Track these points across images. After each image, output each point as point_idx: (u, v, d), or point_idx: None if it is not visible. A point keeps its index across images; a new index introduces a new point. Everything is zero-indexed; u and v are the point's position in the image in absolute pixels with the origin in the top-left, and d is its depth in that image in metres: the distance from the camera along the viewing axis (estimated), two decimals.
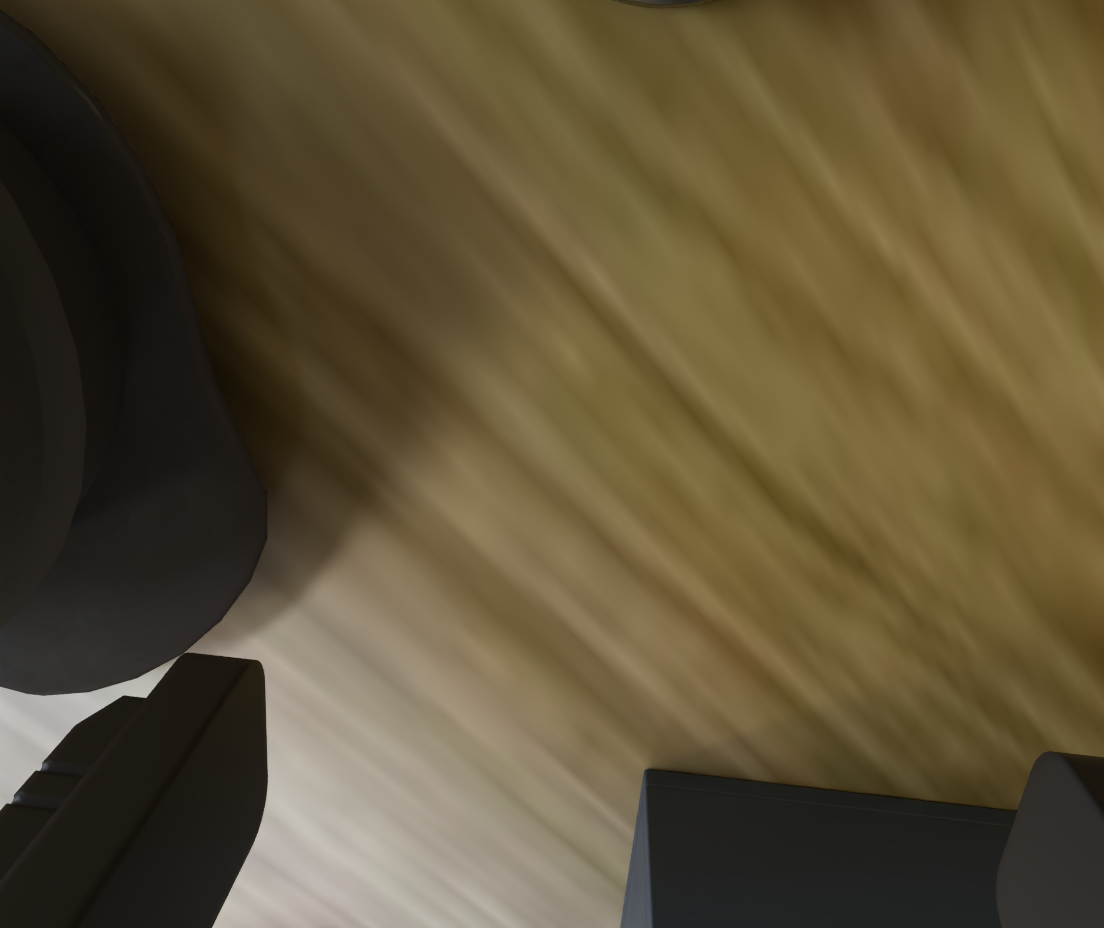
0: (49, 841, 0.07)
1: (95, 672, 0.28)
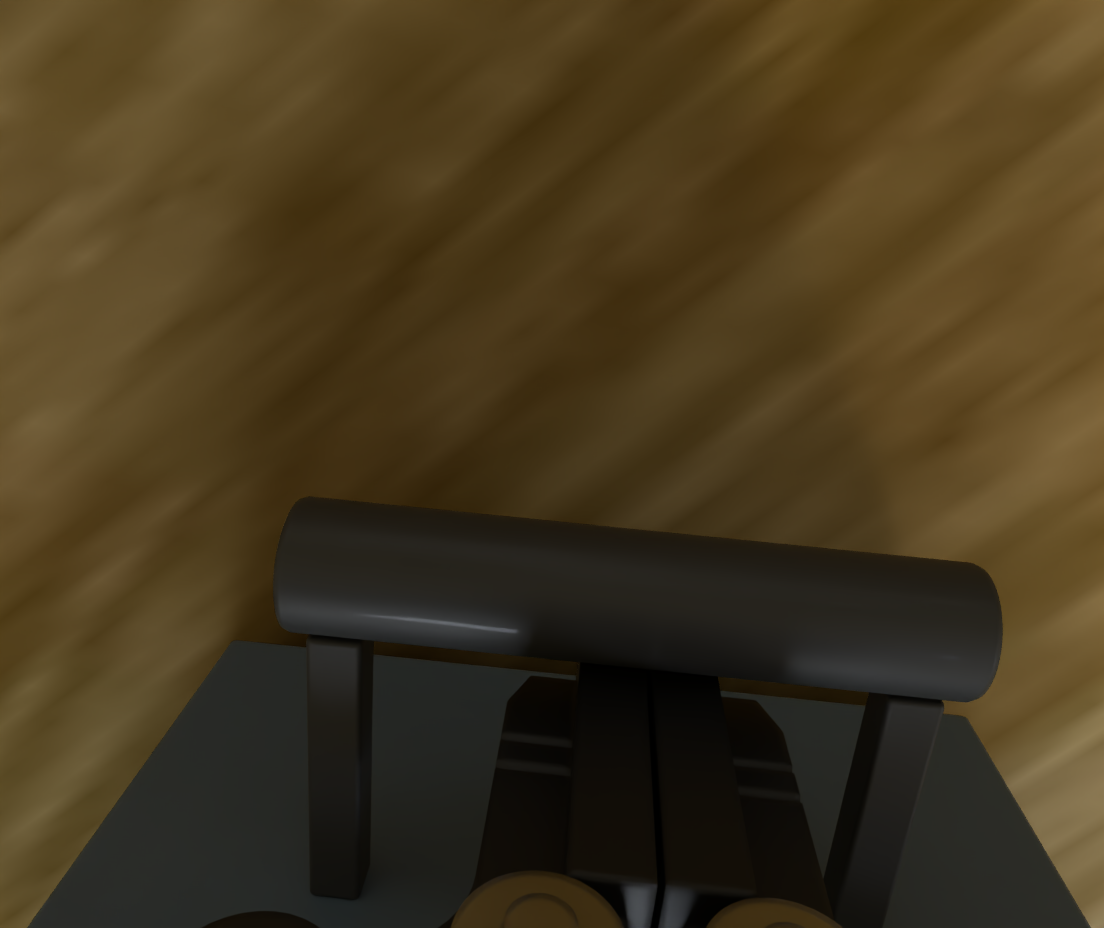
0: (586, 797, 0.08)
1: None
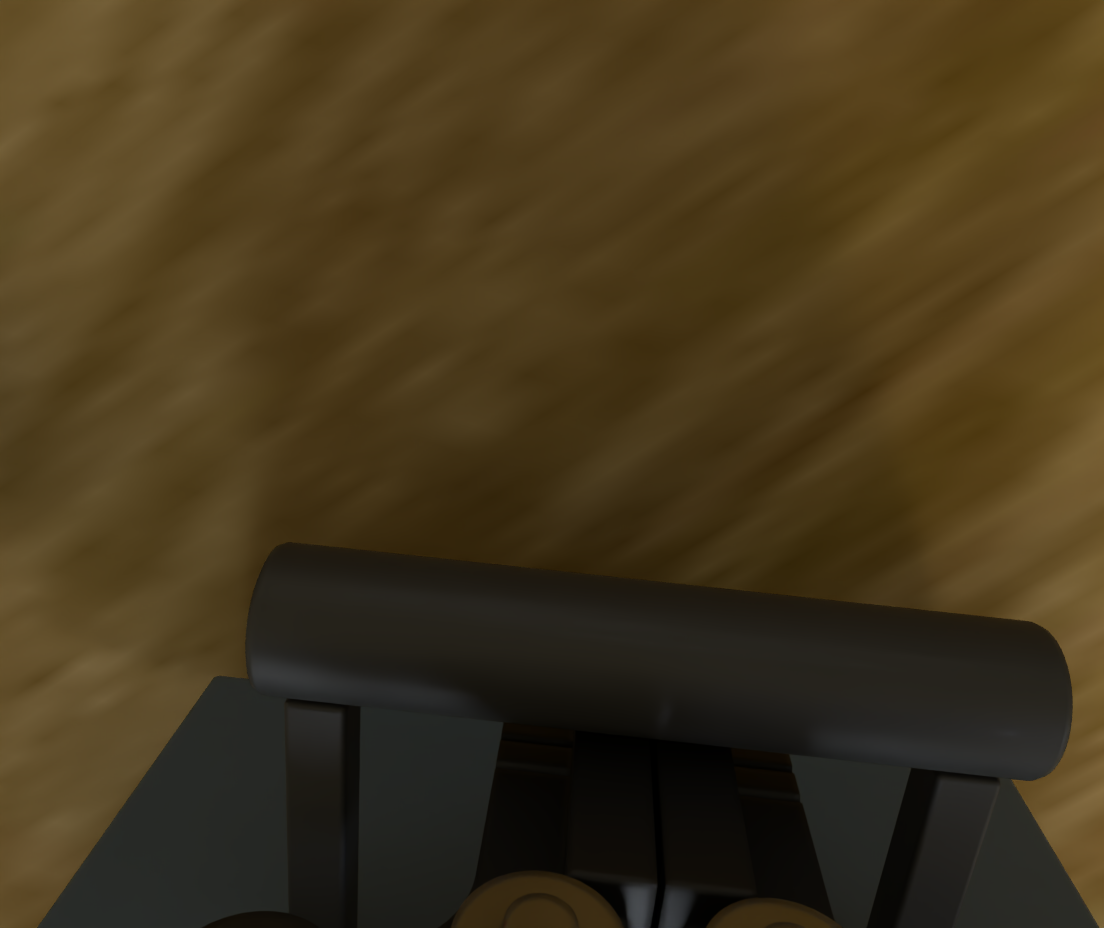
0: (586, 797, 0.08)
1: None
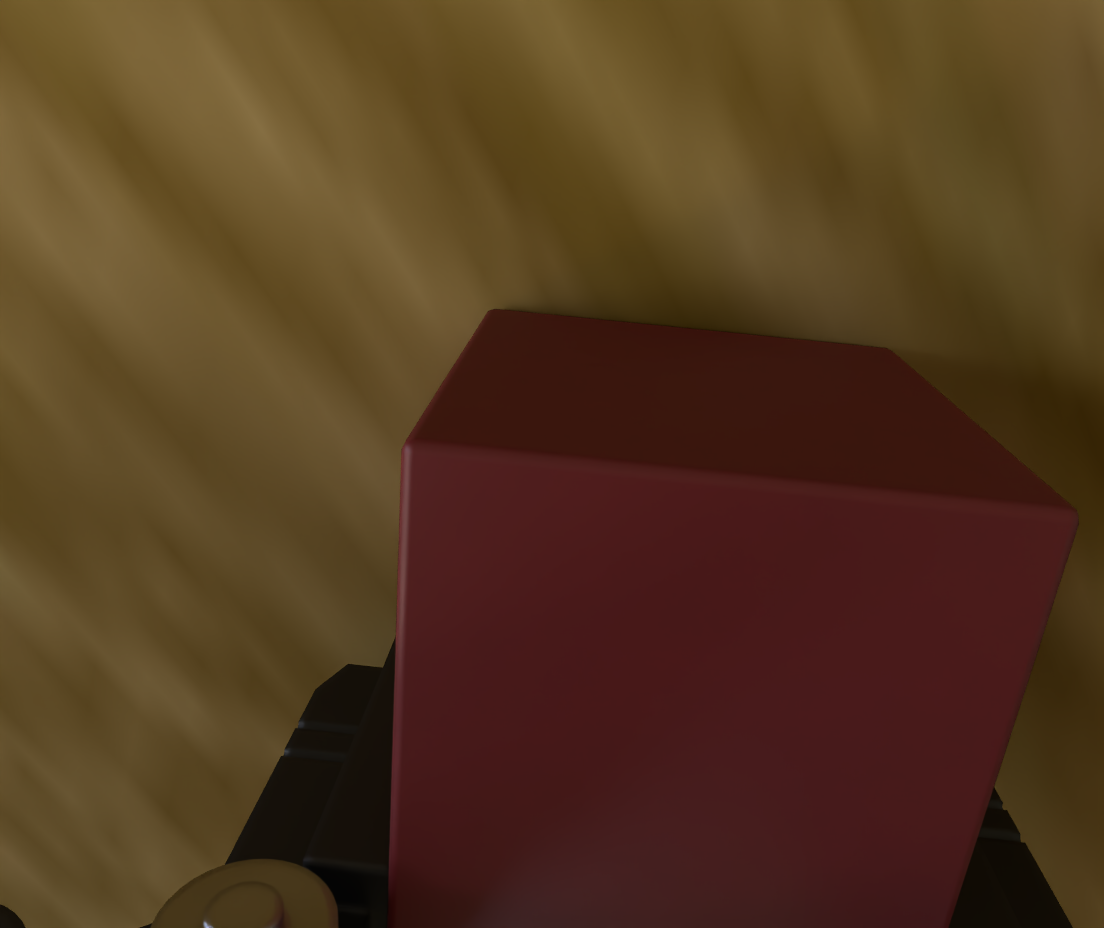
0: (350, 784, 0.08)
1: None
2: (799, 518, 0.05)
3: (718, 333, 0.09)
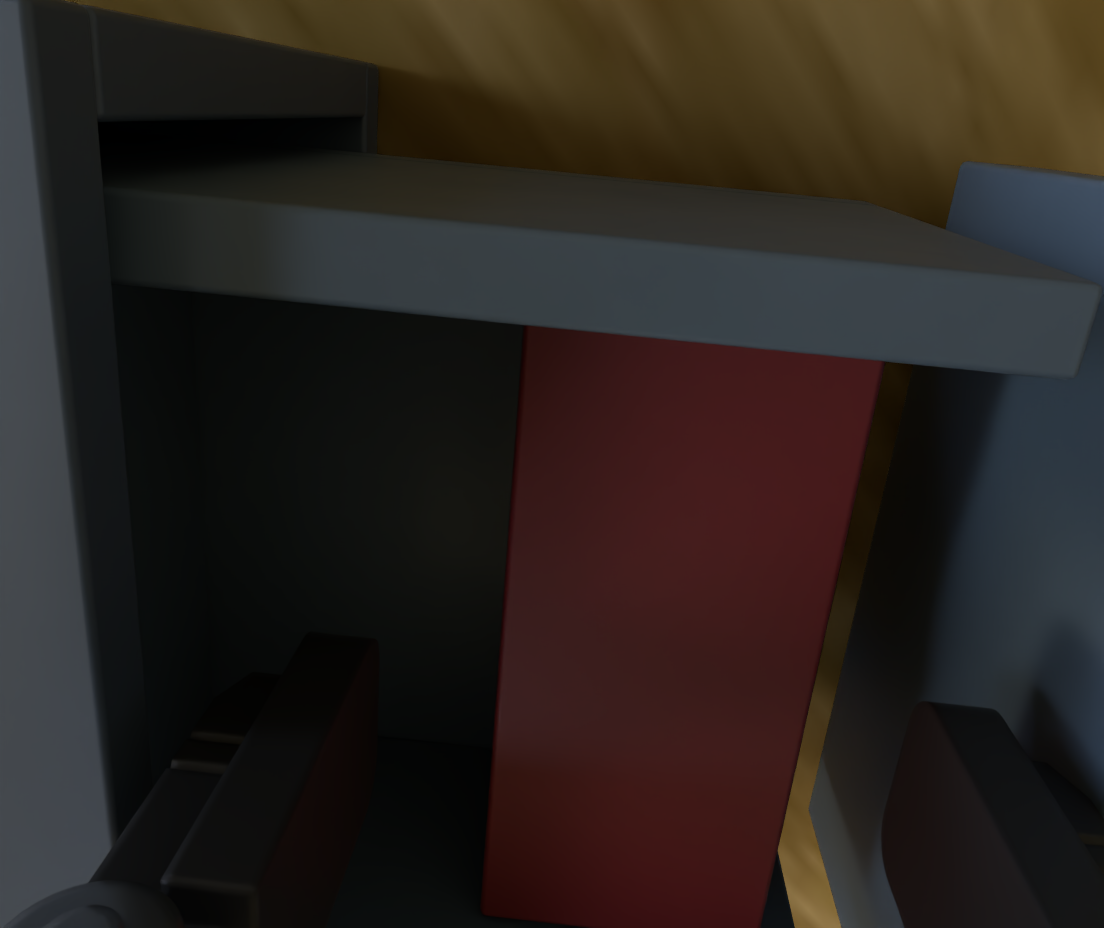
0: (224, 798, 0.07)
1: None
2: None
3: None
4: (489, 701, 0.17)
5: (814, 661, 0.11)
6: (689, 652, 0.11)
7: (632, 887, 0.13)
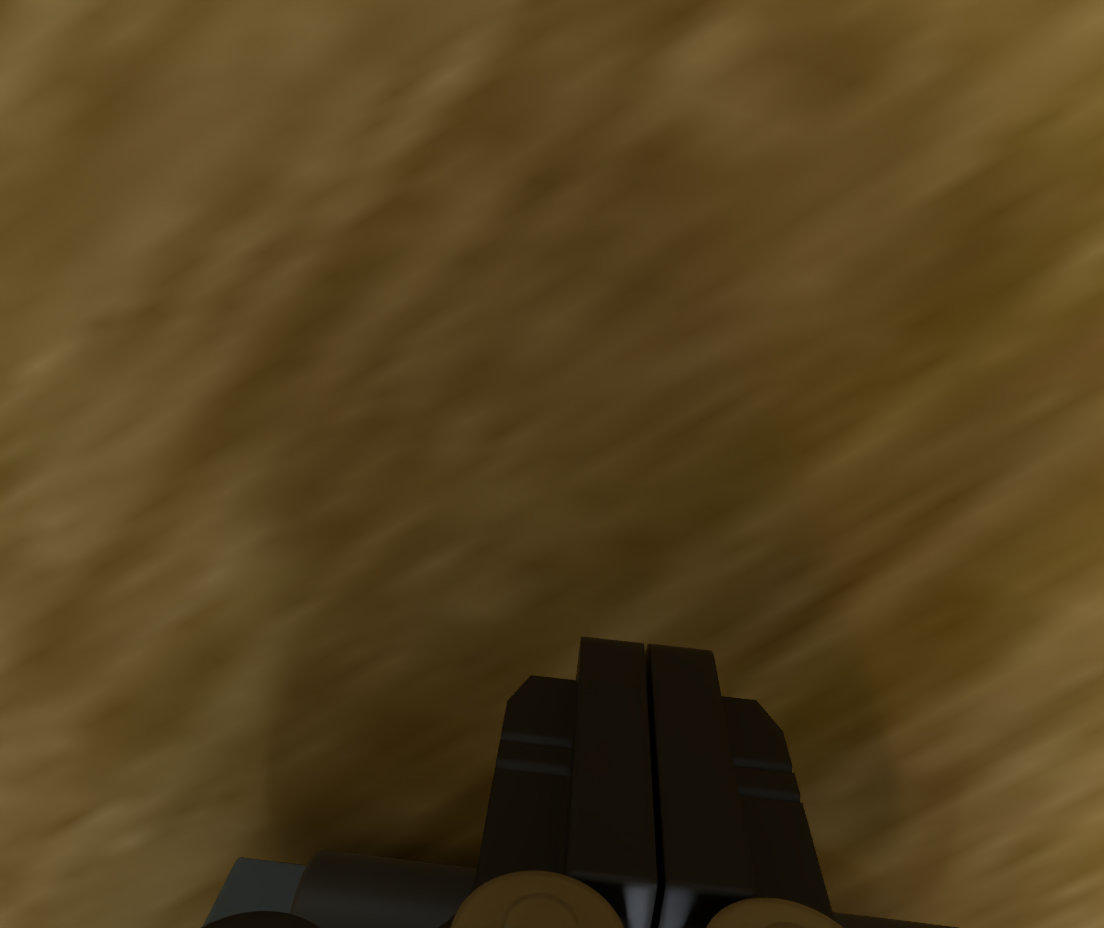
0: (586, 797, 0.08)
1: None
2: None
3: None
4: None
5: None
6: None
7: None
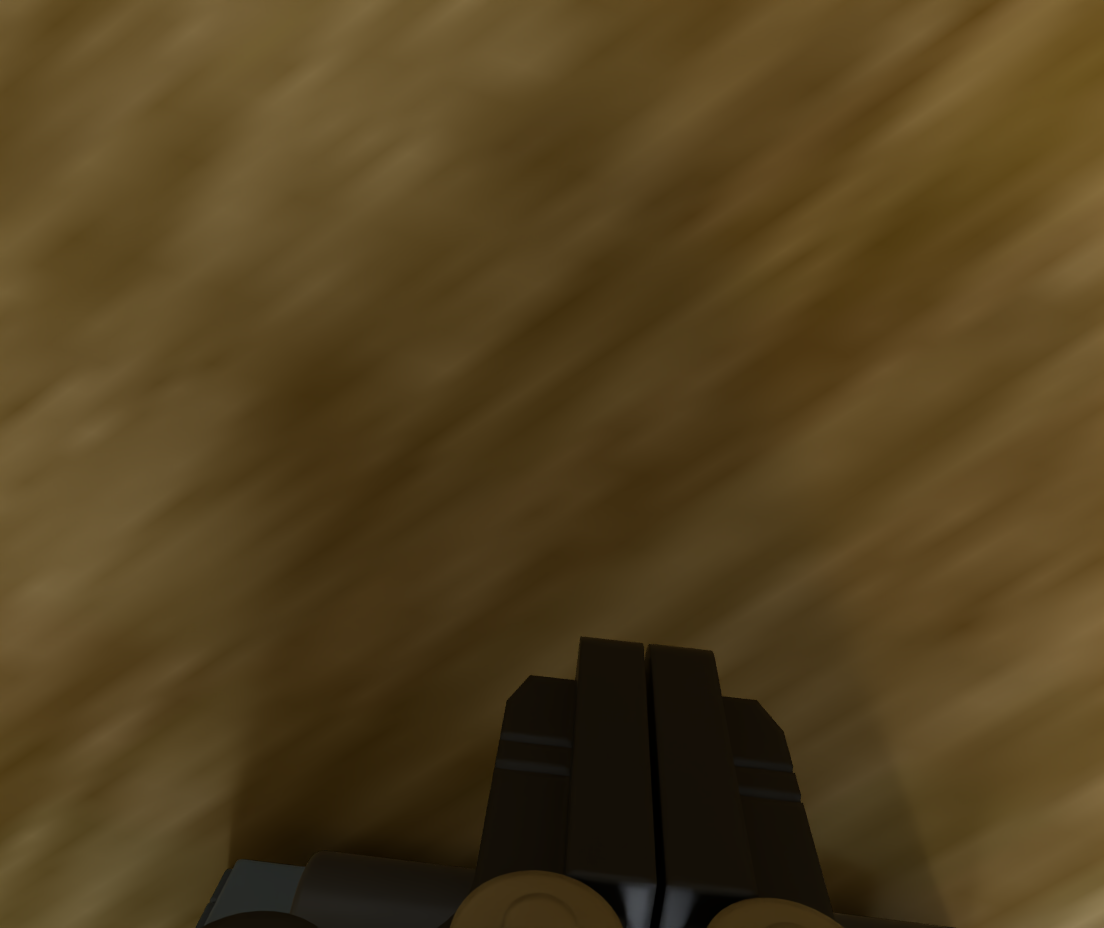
0: (585, 797, 0.08)
1: None
2: None
3: None
4: None
5: None
6: None
7: None
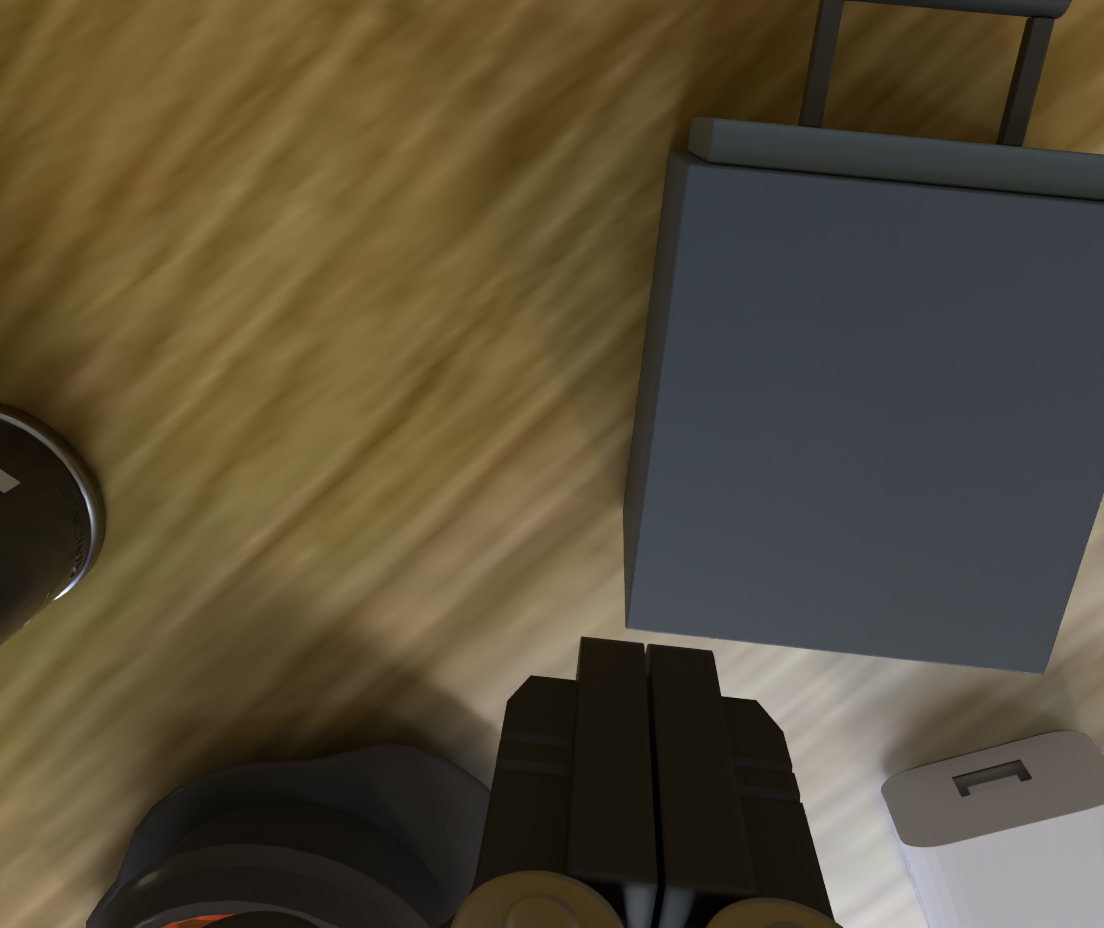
0: (586, 797, 0.08)
1: None
2: None
3: None
4: None
5: None
6: None
7: None
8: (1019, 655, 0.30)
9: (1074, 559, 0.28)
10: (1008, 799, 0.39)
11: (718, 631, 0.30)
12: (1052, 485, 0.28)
